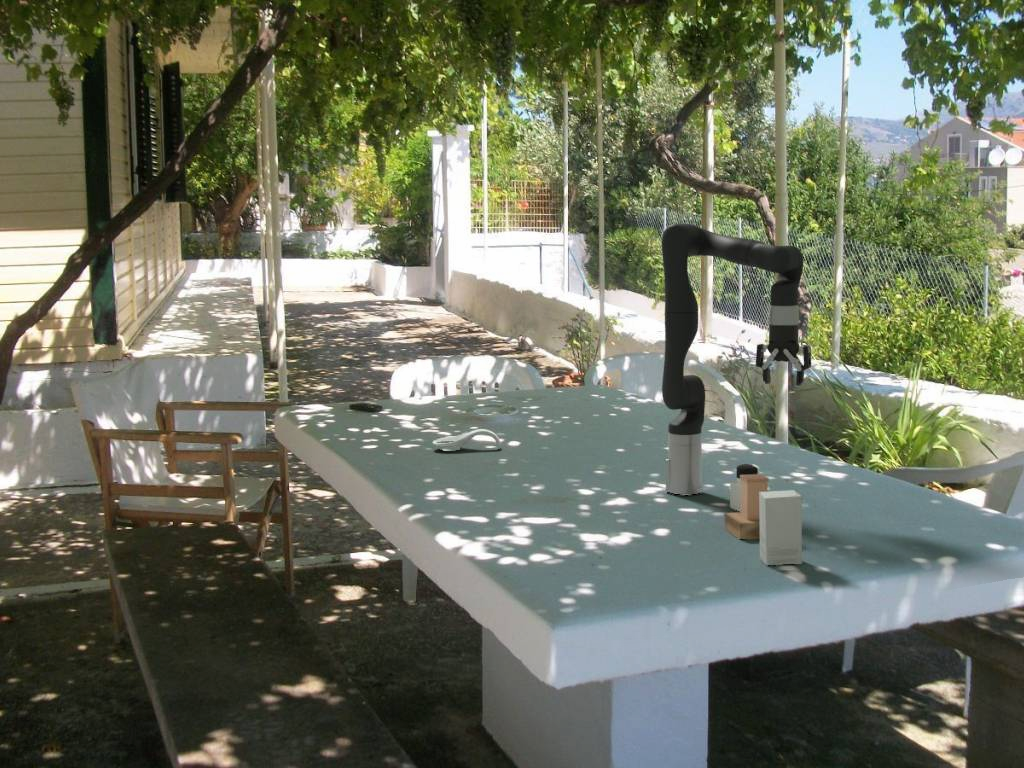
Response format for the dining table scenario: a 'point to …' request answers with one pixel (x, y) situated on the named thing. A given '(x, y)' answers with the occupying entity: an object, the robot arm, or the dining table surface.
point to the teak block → (742, 526)
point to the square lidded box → (752, 494)
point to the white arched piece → (465, 438)
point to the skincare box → (780, 527)
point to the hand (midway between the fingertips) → (783, 384)
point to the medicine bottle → (736, 485)
